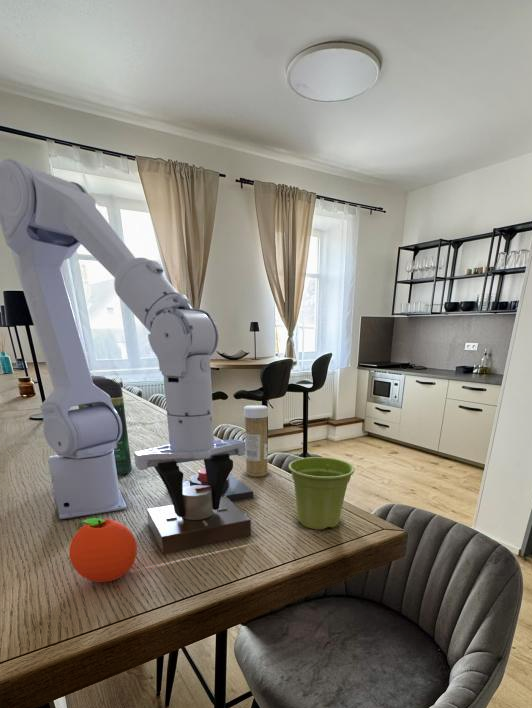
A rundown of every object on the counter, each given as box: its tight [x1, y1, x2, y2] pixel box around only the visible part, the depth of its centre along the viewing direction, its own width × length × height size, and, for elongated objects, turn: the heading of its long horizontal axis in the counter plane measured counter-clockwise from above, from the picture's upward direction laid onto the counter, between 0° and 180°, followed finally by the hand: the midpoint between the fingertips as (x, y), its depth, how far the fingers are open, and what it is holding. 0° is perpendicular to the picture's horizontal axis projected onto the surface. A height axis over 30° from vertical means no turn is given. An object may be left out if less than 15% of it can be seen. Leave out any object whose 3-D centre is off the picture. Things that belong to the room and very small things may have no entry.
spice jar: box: [243, 404, 269, 478], centre depth 80 cm, size 5×5×13 cm
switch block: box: [183, 473, 254, 503], centre depth 71 cm, size 12×10×3 cm
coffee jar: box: [77, 375, 133, 477], centre depth 80 cm, size 10×8×19 cm
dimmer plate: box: [146, 496, 252, 555], centre depth 58 cm, size 12×10×3 cm
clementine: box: [68, 517, 138, 583], centre depth 46 cm, size 8×7×7 cm
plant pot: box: [288, 456, 356, 530], centre depth 60 cm, size 9×9×9 cm
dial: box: [183, 485, 213, 520], centre depth 57 cm, size 4×4×4 cm
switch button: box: [197, 467, 207, 482], centre depth 70 cm, size 4×4×2 cm
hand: (196, 510), depth 57 cm, fingers closed on dial, 4 cm apart
